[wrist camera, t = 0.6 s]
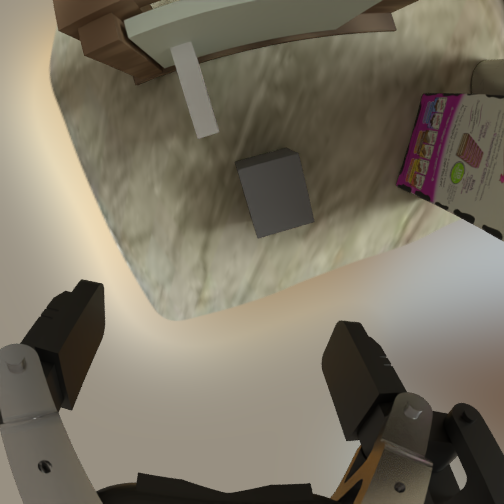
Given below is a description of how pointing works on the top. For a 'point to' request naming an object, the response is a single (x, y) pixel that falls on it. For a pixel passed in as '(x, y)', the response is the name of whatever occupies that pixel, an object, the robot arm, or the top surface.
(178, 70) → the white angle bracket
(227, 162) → the top surface
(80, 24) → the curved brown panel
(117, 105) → the top surface
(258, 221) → the block
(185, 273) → the top surface
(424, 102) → the candy bar box
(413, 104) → the top surface
